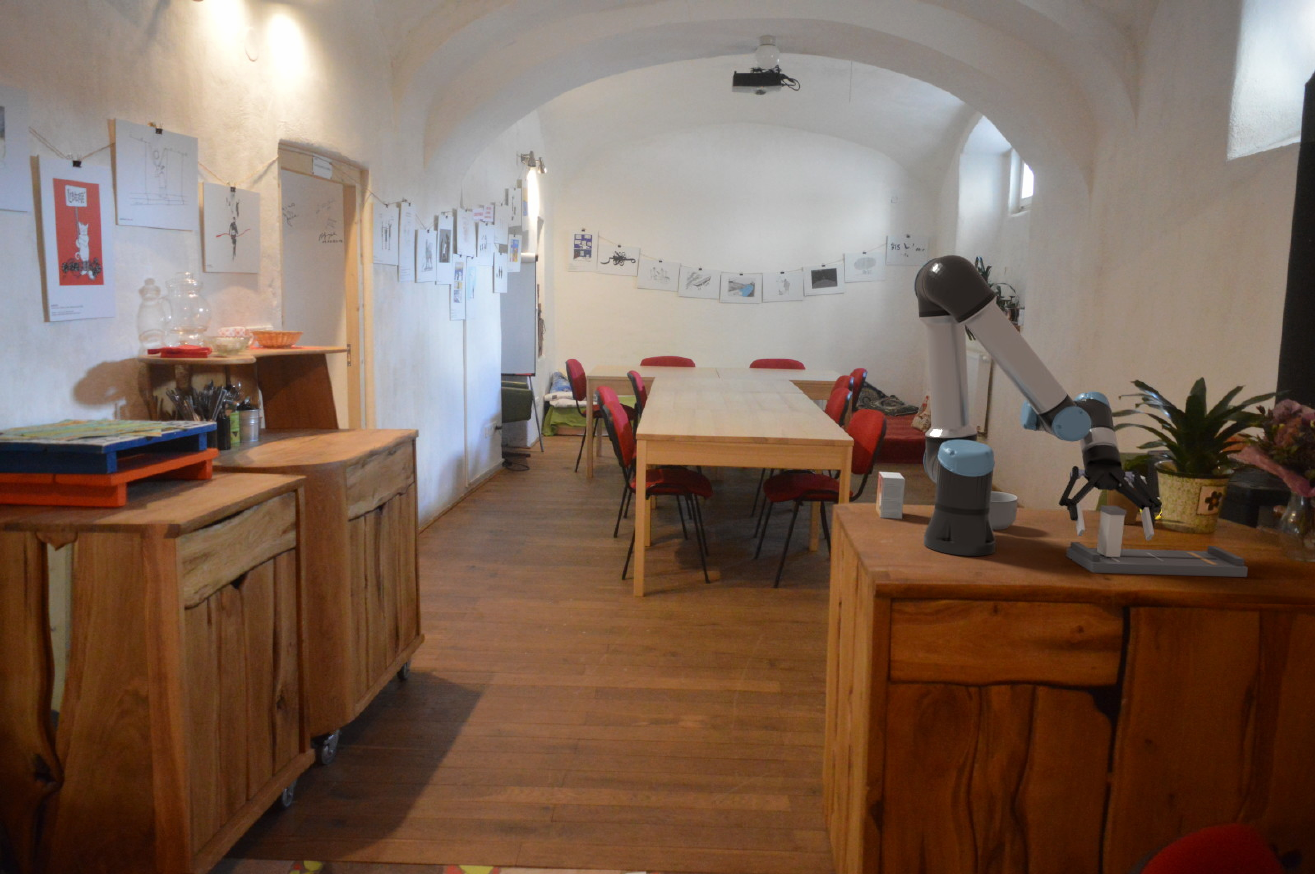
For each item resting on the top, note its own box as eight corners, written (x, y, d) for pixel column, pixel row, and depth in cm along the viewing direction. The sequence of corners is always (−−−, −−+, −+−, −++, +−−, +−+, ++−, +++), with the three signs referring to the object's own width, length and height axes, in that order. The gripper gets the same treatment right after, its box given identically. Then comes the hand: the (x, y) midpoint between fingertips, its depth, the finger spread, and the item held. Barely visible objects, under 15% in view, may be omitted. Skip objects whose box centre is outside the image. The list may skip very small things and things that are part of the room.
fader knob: (1105, 556, 191) (1110, 510, 190) (1095, 550, 196) (1100, 505, 194) (1121, 557, 191) (1126, 510, 190) (1111, 551, 196) (1116, 505, 194)
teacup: (1021, 533, 219) (1024, 500, 218) (976, 531, 220) (979, 499, 218) (1001, 519, 233) (1004, 488, 232) (958, 517, 233) (961, 487, 232)
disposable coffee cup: (1138, 519, 238) (1143, 474, 236) (1145, 527, 229) (1150, 480, 227) (1098, 515, 241) (1103, 471, 239) (1103, 523, 232) (1108, 477, 230)
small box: (875, 510, 238) (878, 471, 237) (897, 512, 238) (900, 472, 236) (879, 518, 230) (882, 477, 229) (902, 519, 230) (905, 478, 228)
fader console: (1092, 572, 188) (1094, 556, 187) (1066, 556, 200) (1067, 540, 199) (1246, 576, 188) (1248, 560, 188) (1211, 560, 200) (1213, 544, 200)
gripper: (1154, 465, 205) (1172, 547, 193) (1037, 459, 209) (1048, 539, 197) (1166, 445, 199) (1185, 529, 187) (1045, 440, 203) (1057, 521, 191)
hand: (1115, 535), depth 192 cm, fingers open, 13 cm apart
